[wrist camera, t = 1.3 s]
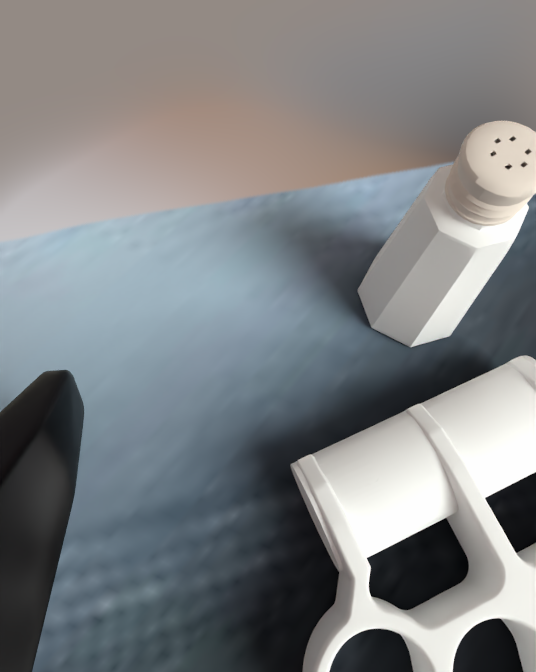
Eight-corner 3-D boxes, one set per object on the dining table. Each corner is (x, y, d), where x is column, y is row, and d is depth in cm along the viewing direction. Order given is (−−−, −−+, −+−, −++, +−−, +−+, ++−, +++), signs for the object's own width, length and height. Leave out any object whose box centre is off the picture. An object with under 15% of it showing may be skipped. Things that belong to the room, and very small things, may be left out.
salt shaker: (334, 289, 26) (383, 140, 16) (411, 231, 27) (505, 56, 17) (408, 370, 25) (517, 265, 14) (486, 305, 26) (639, 165, 15)
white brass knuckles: (559, 340, 25) (766, 650, 21) (222, 498, 23) (379, 889, 18) (602, 316, 22) (857, 675, 18) (215, 496, 19) (404, 968, 15)
